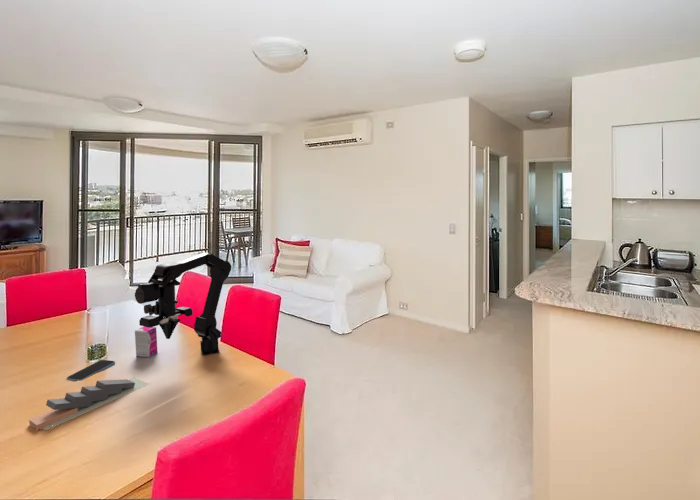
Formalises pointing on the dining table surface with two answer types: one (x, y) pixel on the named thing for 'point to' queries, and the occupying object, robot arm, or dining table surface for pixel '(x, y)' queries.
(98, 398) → the domino
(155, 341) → the supplement box
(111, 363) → the smartphone
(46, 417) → the domino
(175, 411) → the dining table surface
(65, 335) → the dining table surface
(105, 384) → the domino
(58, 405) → the domino
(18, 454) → the dining table surface
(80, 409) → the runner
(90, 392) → the domino
